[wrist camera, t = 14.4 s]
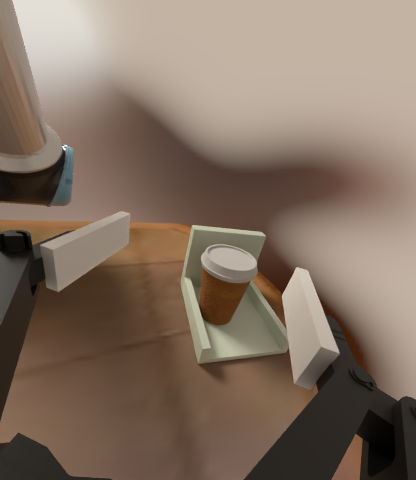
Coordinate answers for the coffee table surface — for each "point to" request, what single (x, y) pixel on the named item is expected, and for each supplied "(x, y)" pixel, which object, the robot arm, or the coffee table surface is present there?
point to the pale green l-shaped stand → (247, 313)
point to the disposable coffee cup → (224, 281)
